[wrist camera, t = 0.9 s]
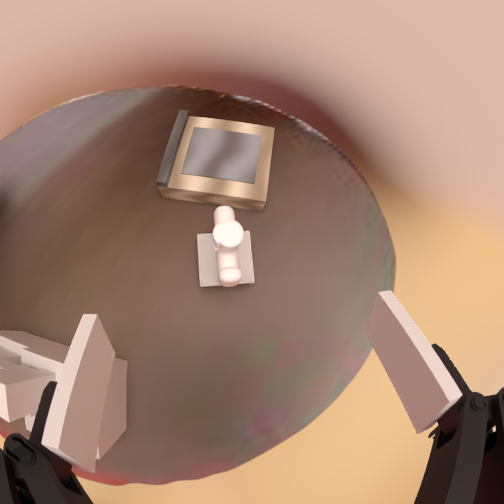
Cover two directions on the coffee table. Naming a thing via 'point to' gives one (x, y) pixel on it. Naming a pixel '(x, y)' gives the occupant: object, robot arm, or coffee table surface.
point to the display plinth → (217, 162)
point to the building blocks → (49, 369)
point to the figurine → (225, 252)
